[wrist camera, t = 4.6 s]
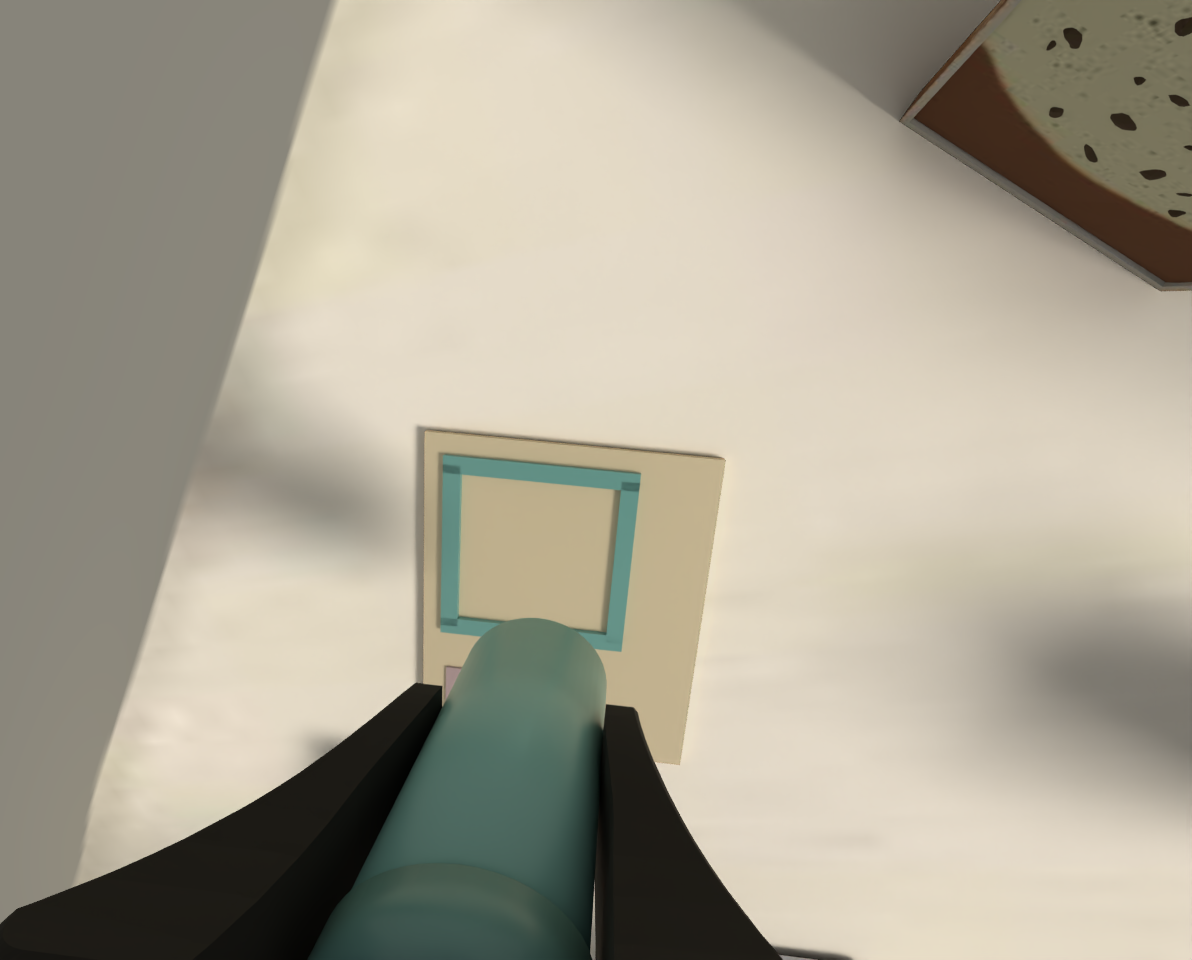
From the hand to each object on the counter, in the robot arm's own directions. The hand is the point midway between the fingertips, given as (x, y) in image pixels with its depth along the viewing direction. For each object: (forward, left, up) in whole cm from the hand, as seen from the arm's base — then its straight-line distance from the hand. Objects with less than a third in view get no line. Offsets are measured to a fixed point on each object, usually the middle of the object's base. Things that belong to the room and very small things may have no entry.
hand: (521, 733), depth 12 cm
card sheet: (-1, 0, -8) cm, 8 cm away
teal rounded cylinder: (0, 0, -2) cm, 2 cm away
